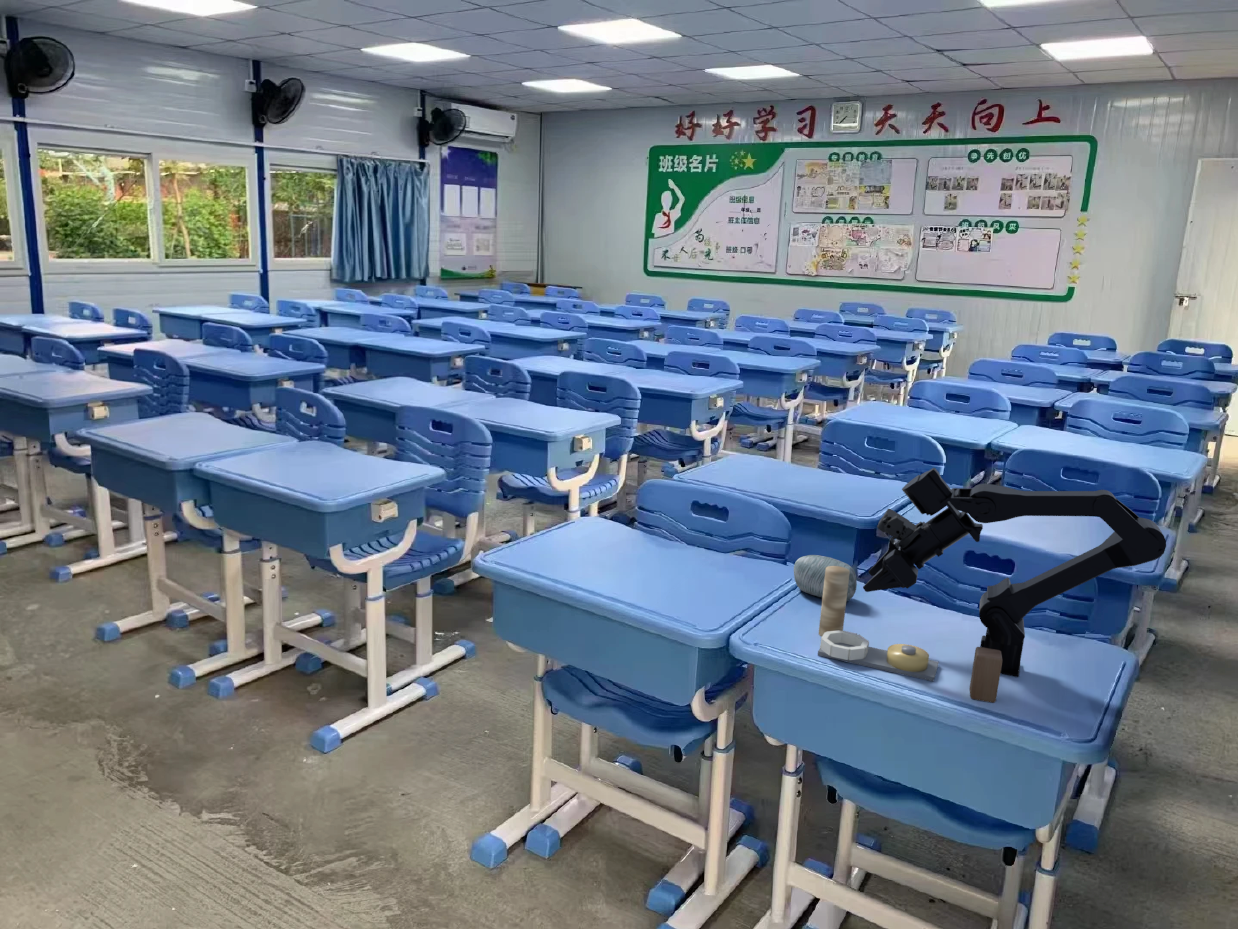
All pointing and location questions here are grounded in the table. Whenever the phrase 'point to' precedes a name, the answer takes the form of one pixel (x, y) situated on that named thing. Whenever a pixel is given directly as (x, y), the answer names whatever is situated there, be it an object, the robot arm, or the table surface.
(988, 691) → the wooden block
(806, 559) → the grey streaked oval stone
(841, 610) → the peg
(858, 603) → the table surface
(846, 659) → the board
